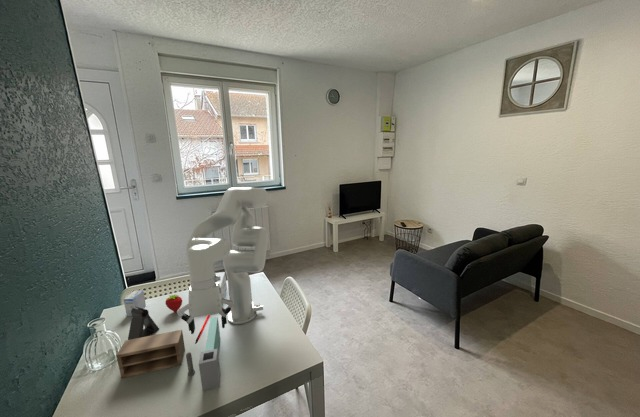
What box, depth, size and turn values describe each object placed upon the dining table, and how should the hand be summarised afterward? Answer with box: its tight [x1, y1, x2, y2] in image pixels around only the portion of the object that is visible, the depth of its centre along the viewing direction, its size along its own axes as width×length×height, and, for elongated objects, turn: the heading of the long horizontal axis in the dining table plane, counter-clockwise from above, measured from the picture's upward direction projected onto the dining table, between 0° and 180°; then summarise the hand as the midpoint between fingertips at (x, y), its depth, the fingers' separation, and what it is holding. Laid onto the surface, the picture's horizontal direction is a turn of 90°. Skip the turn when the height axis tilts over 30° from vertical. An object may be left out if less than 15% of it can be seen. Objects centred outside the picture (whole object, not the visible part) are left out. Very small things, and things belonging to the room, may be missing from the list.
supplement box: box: [215, 271, 228, 299], centre depth 133 cm, size 17×13×9 cm
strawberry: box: [165, 293, 183, 313], centre depth 120 cm, size 6×8×10 cm
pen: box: [194, 315, 211, 344], centre depth 110 cm, size 1×19×1 cm, turn 6°
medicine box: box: [123, 289, 147, 317], centre depth 122 cm, size 8×4×9 cm, turn 5°
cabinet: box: [116, 329, 196, 379], centre depth 89 cm, size 23×13×9 cm, turn 107°
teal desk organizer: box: [198, 316, 222, 392], centre depth 91 cm, size 23×5×10 cm, turn 17°
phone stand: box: [127, 307, 160, 340], centre depth 105 cm, size 9×6×12 cm, turn 158°
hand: (208, 328), depth 88 cm, fingers open, 9 cm apart
